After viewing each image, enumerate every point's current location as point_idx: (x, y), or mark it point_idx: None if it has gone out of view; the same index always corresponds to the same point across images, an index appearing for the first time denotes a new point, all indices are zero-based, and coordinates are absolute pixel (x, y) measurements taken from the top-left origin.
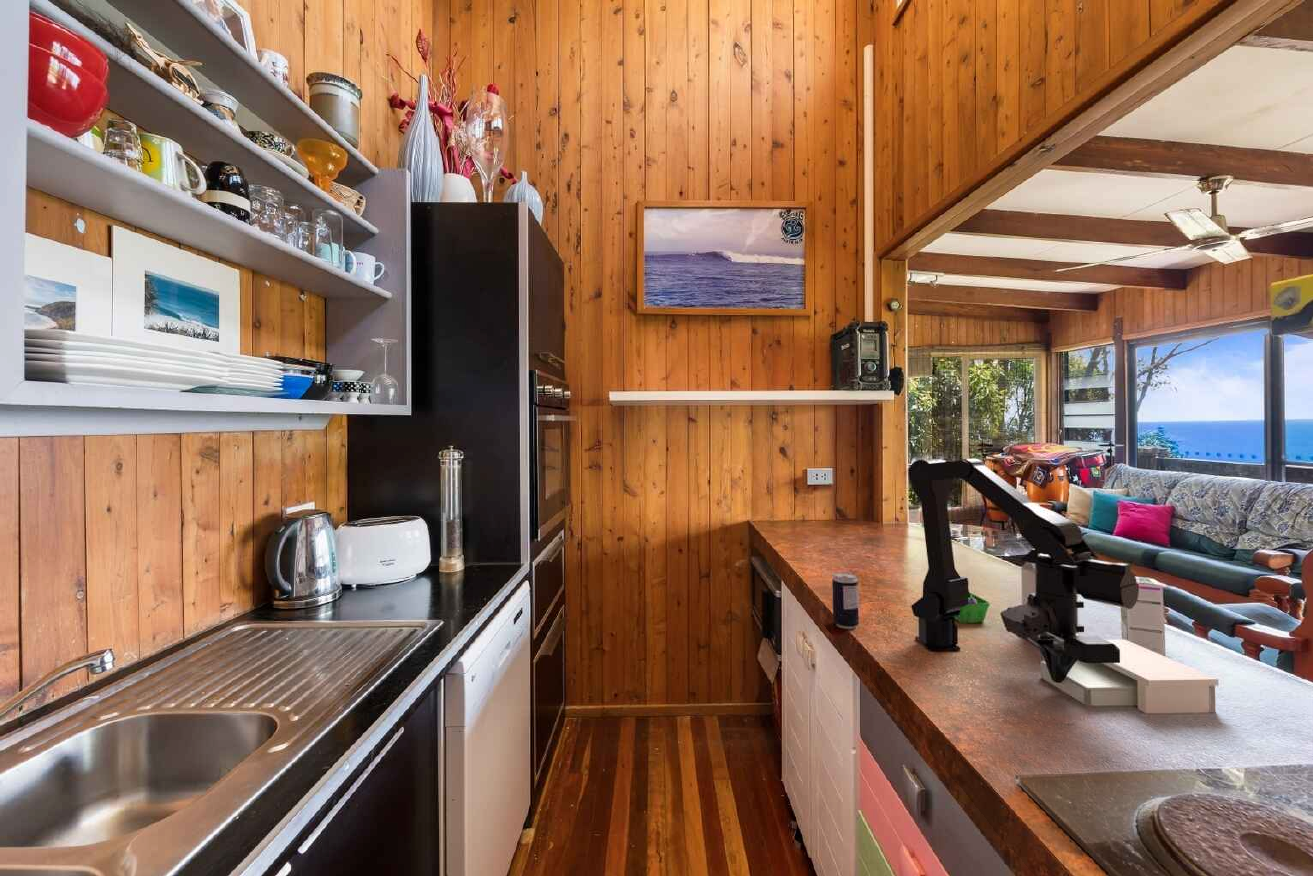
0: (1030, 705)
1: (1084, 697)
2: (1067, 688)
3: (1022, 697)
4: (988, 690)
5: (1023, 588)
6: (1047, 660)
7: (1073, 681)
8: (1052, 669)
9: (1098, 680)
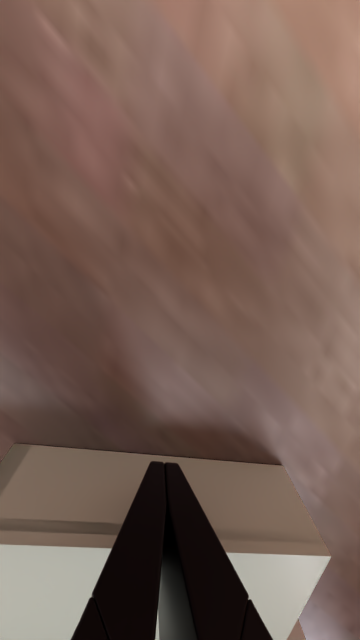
0: (35, 156)
1: (13, 473)
2: (126, 475)
3: (137, 202)
4: (271, 33)
5: None
6: (209, 615)
7: (65, 535)
8: (153, 536)
9: (44, 638)
